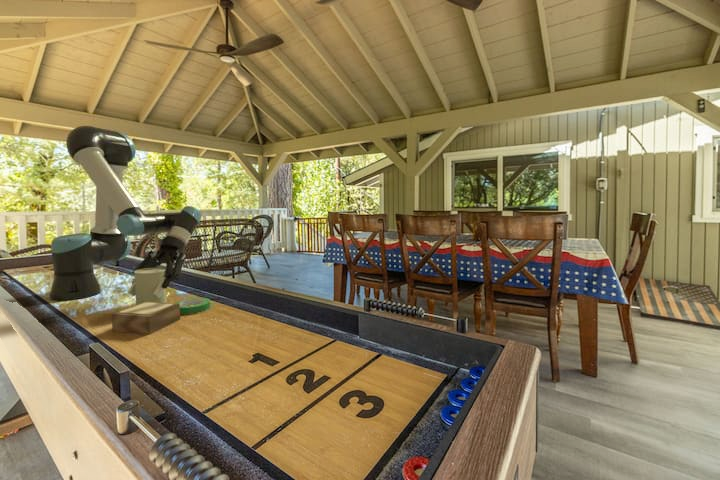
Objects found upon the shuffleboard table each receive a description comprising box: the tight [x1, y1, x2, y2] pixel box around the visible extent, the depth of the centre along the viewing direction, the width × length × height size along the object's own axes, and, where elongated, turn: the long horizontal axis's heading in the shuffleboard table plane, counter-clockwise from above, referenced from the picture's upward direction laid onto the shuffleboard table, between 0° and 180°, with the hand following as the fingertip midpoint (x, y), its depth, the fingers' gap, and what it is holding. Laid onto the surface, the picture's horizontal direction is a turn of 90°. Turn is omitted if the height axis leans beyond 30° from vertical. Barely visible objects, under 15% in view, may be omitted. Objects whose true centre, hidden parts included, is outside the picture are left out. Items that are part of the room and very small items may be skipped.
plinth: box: [110, 302, 181, 335], centre depth 100 cm, size 12×12×5 cm
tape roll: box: [175, 297, 211, 315], centre depth 115 cm, size 11×11×3 cm
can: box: [133, 267, 168, 305], centre depth 115 cm, size 9×9×12 cm
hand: (143, 295), depth 112 cm, fingers closed on can, 9 cm apart
